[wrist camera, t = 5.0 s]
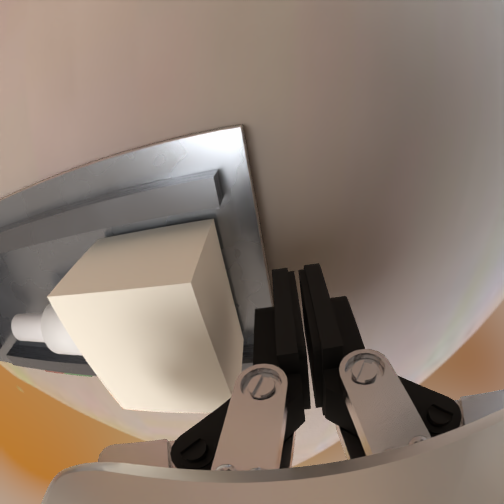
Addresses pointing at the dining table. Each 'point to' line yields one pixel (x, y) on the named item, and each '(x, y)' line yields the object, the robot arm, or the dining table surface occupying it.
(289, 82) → the dining table surface
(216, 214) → the gauge bed
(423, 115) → the dining table surface
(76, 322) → the cube with side peg
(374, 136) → the dining table surface
